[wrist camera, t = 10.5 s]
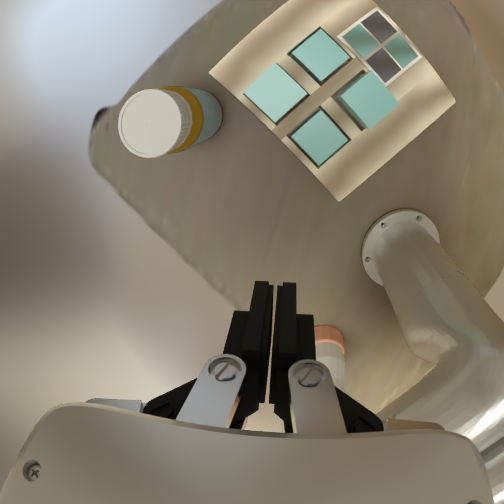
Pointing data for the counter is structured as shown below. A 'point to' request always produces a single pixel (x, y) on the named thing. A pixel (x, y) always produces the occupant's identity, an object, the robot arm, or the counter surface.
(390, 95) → the button
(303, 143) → the button
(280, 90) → the button
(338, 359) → the salt shaker
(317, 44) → the button
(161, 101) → the bottle
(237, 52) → the button board
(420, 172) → the counter surface
